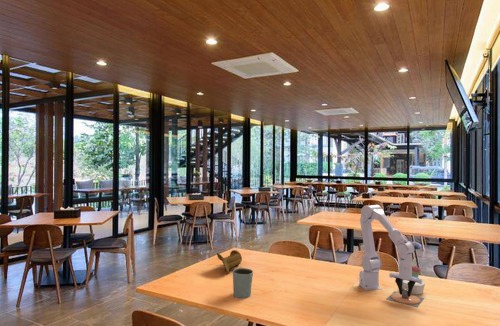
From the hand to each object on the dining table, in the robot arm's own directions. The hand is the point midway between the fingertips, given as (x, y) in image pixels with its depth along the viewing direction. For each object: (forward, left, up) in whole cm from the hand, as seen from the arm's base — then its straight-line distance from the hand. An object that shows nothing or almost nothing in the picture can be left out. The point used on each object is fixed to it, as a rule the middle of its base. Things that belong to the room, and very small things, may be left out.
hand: (405, 295), depth 160 cm
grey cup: (-79, +10, -2) cm, 80 cm away
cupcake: (+23, +31, -2) cm, 39 cm away
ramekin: (+10, +10, -3) cm, 14 cm away
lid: (0, 0, -2) cm, 2 cm away
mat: (0, 0, -2) cm, 2 cm away
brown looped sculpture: (-84, +52, -2) cm, 99 cm away
